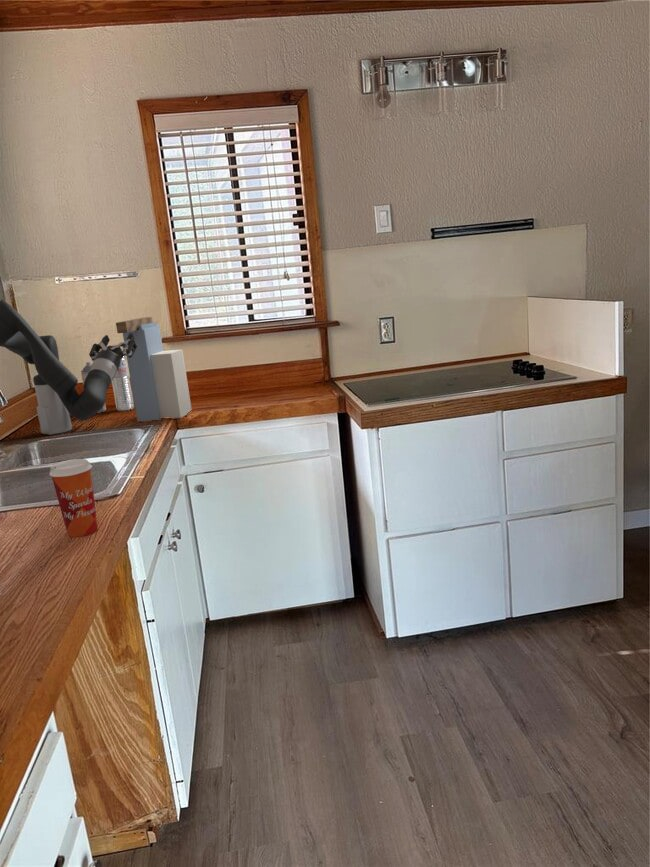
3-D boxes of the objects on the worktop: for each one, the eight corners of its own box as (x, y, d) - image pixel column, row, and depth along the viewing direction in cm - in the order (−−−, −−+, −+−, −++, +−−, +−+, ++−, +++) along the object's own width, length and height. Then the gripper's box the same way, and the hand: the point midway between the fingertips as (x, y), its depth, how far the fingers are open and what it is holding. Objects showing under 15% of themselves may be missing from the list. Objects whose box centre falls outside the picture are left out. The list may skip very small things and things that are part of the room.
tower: (158, 420, 225) (143, 325, 217) (137, 421, 227) (121, 327, 219) (172, 412, 238) (158, 321, 230) (152, 413, 239) (137, 323, 231)
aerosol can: (110, 410, 255) (101, 360, 250) (97, 414, 249) (88, 363, 244) (97, 410, 258) (88, 361, 253) (84, 413, 252) (75, 363, 247)
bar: (127, 332, 210) (125, 321, 210) (117, 333, 211) (115, 322, 210) (153, 326, 231) (152, 316, 230) (144, 327, 231) (142, 317, 230)
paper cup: (68, 543, 120) (53, 472, 117) (57, 532, 126) (43, 465, 123) (109, 530, 124) (96, 462, 121) (97, 520, 130) (84, 455, 127)
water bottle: (133, 406, 257) (123, 345, 251) (135, 409, 251) (124, 346, 245) (116, 409, 255) (105, 347, 249) (117, 412, 249) (106, 348, 243)
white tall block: (180, 417, 226) (170, 353, 220) (160, 419, 227) (150, 355, 222) (191, 411, 237) (182, 349, 231) (172, 412, 238) (163, 350, 232)
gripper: (88, 379, 201) (104, 347, 212) (130, 375, 199) (144, 343, 210) (77, 360, 196) (94, 328, 207) (121, 357, 193) (135, 325, 205)
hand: (119, 336), depth 208 cm, fingers open, 8 cm apart
